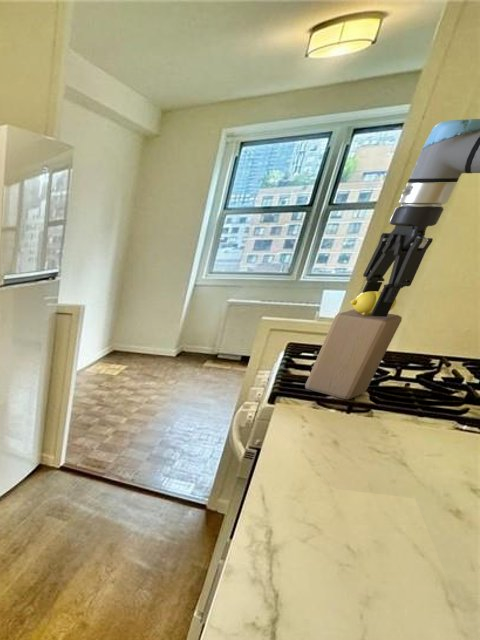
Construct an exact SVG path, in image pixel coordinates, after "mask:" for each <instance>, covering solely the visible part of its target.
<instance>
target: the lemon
mask: <svg viewBox="0 0 480 640" xmlns="http://www.w3.org/2000/svg"><path fill="white" fill-rule="evenodd" d="M381 292H382V291H378V292H377V291H369V292H365V293H362V292H361V293H360V294H359V295H357V296H356V297H355V298H354V299H352V300H351V301H350V305H352V307H353V309H354V310H355V311H357V312H358V313H361V314H363V315H371V313H372V311H373V309H374V307H375V305H376V303H377V301H378V299H379V297H380V294H381ZM396 304H397V298H396V299H395V301H394V302H393V304H392V306H391V308H390V311H391V310H393V309H395V306H396Z"/></svg>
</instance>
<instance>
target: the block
mask: <svg viewBox="0 0 480 640" xmlns="http://www.w3.org/2000/svg"><path fill="white" fill-rule="evenodd" d="M402 319H403V317H402V316H401V315H399V314H393V313H388V315H387V317H384V316H371V315H363V314H361V313H358V312H357V311H355V310H354V308H353V309H349V310H347V311H346V310H345V311H342V312H338V313H336V315H335V316H334V318H333V320H332V323H331V325H330V327H329V330H328V331H327V334H326V336H325V339H324V341H323V343H322V345H321V347H320V350H319V352H318V355H317V357H316V360H315V361H314V364H313V365H312V368H311V371H310V373H309V376H308V378H307V380H306V382H305V384H304V389H306V390H308V391H311V392H316V393H319V394H323V395H326V396H330V397H334V398H338V399H342V400H346V401H347V400H352V399H353V398H356V397H358V396H360V395H363V394H364V393H366V391H367V390H368V388H369V386H370V384H371V382H372V380H373V378H374V377H375V375H376V372H377V370H378V368H379V366H380V365H381V362H382V360H383V358H384V356H385V355H386V352H387V350H388V348H389V346H390V344H391V342H392V341H393V338H394V337H395V334H396V332H397V330H398V328H399V327H400V325H401V323H402Z"/></svg>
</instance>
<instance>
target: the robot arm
mask: <svg viewBox="0 0 480 640" xmlns="http://www.w3.org/2000/svg"><path fill="white" fill-rule="evenodd" d="M420 150H421V151H420V153H419V156H418V158H417V160H416V163H415V165H414V167H413V169H412V172H411V173H410V177H409V178H408V181H407V183H406V186H405V187H404V188H403V189H402V191H401V196H400V199H399V201H398V203H399V204H401V205H400V206H397V207H395V209H394V211H393V214H392V216H391V218H390V219H389V225H391V226H394V227H393V229H392V230H391V232H383V233H381V235H380V237H379V241H378V244H377V246H376V248H375V250H374V252H373V254H372V256H371V257H370V260H369V262H368V265H366V268H365V270H364V272H363V275H362V276H363V278H365V281H366V283H365V285H364V287H363V290H362V292H361V294H362V293H365V292H369V291H377V292H381V294H380V297H379V299H378V301H377V303H376V305H375V307H374V309H373V311H372V313H371V316H384V317H387V315H388V314H390V313H389V312H390V311H391V310H390V308H391V306H392V304H393V302H394V301H395V299H396V300H397V297H398V294H399V293H400V291H401V289H403V288H405V287H411V285H412V284H413V282H414V279H415V277H416V274H417V273H418V270H419V268H420V265H421V263H422V261H423V259H424V256H425V254H426V252H427V250H428V248H429V247H430V246H431V244H432V243H433V241H434V240H433V237H426V236H425V235H426V230H427V228H428V227H433V226H435V225H437V224H438V222H439V220H440V218H441V216H442V214H443V212H444V210H445V209H444V207H443V205H446V204H448V202H449V200H450V198H451V196H452V195H453V192H454V190H455V188H456V186H457V183H458V182H459V179H460V177H461V175H462V174H480V118H469V119H453V120H446V121H441V122H439V123H437V124H436V125H434V126H433V127H432V129H431V131H430V134H429V135H428V137H427V139H426V141H425V143H424V145H423V146H422V147H421V149H420ZM391 266H392V268H391ZM390 268H391V273H390V276H389V279H388V283H387V284H383V283H384V282H385V278H384V277H385V275H386V274H387V272H388V271H389V269H390ZM382 285H383V288H382V291H380V289H381V287H382Z"/></svg>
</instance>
